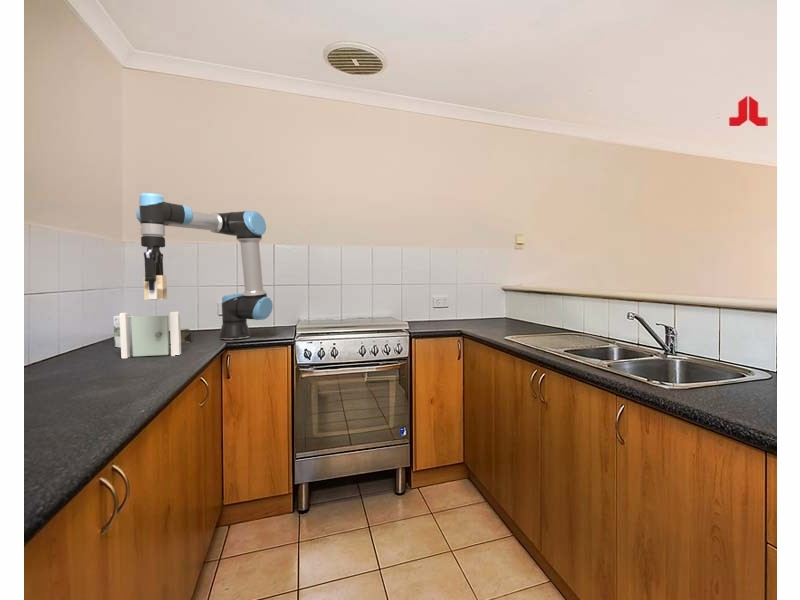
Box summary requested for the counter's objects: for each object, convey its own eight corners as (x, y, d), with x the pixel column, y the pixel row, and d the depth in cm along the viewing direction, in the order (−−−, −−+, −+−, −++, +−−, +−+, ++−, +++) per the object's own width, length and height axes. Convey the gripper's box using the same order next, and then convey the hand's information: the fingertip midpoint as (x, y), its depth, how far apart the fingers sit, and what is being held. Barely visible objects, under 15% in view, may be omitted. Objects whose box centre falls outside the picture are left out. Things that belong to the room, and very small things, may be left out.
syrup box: (136, 345, 176) (134, 314, 175) (125, 348, 170) (124, 316, 169) (124, 345, 176) (123, 314, 175) (114, 348, 170) (112, 316, 169)
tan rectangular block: (167, 298, 145) (166, 275, 145) (163, 299, 140) (162, 275, 140) (149, 299, 144) (148, 275, 143) (144, 300, 139) (143, 275, 138)
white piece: (181, 354, 159) (179, 311, 157) (179, 355, 156) (177, 312, 155) (124, 356, 153) (122, 312, 152) (121, 358, 150) (119, 313, 149)
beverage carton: (192, 343, 184) (192, 329, 184) (145, 347, 173) (144, 333, 172) (190, 340, 191) (189, 327, 190) (144, 345, 179) (143, 331, 179)
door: (169, 353, 157) (168, 315, 156) (166, 355, 153) (165, 316, 152) (131, 355, 153) (130, 316, 152) (128, 357, 150) (126, 317, 148)
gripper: (149, 237, 148) (152, 297, 149) (131, 233, 130) (134, 300, 132) (171, 238, 150) (173, 296, 152) (156, 234, 133) (159, 300, 134)
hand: (155, 298), depth 142 cm, fingers closed on tan rectangular block, 5 cm apart
